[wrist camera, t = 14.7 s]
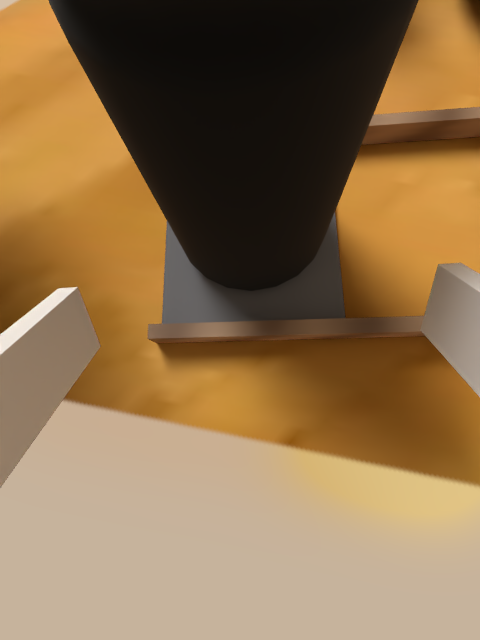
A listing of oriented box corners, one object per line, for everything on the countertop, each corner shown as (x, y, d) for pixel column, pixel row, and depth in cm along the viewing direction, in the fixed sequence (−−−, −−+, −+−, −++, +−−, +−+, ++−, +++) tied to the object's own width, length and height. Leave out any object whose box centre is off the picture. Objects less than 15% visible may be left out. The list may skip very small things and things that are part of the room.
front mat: (164, 326, 22) (161, 325, 22) (171, 159, 26) (170, 155, 25) (343, 321, 22) (345, 319, 21) (326, 149, 25) (328, 144, 24)
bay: (156, 343, 22) (140, 335, 19) (166, 148, 26) (154, 117, 23) (566, 332, 20) (617, 322, 17) (509, 124, 24) (543, 87, 21)
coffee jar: (265, 147, 25) (271, -433, 7) (352, 240, 22) (672, -301, 5) (157, 220, 24) (-125, -245, 7) (235, 325, 22) (119, 33, 4)
